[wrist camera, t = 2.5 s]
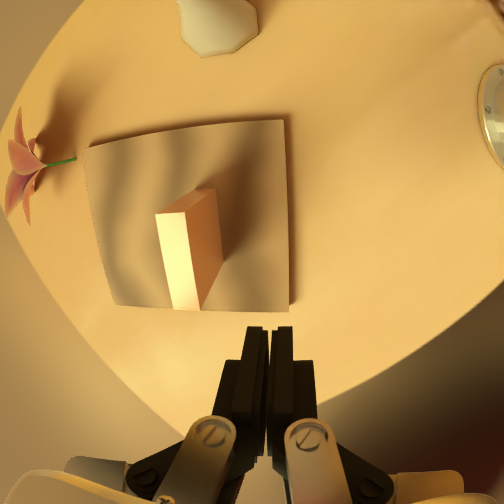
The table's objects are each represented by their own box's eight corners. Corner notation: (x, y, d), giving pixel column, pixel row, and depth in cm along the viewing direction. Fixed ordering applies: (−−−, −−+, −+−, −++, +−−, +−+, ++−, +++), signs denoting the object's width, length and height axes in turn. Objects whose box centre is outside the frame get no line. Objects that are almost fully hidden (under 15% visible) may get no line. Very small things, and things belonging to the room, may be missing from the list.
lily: (63, 91, 24) (-11, 108, 17) (96, 132, 21) (-3, 159, 14) (57, 171, 32) (-3, 192, 25) (88, 226, 29) (16, 257, 22)
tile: (215, 187, 24) (184, 212, 17) (223, 262, 27) (200, 310, 20) (192, 189, 25) (153, 214, 17) (201, 262, 27) (172, 309, 20)
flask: (196, 70, 21) (145, 40, 12) (171, 14, 19) (119, -27, 10) (272, 39, 20) (262, -12, 10) (241, -16, 17) (218, -75, 8)
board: (283, 120, 22) (283, 119, 21) (289, 305, 29) (288, 312, 28) (88, 148, 25) (81, 149, 24) (119, 299, 32) (114, 304, 31)
